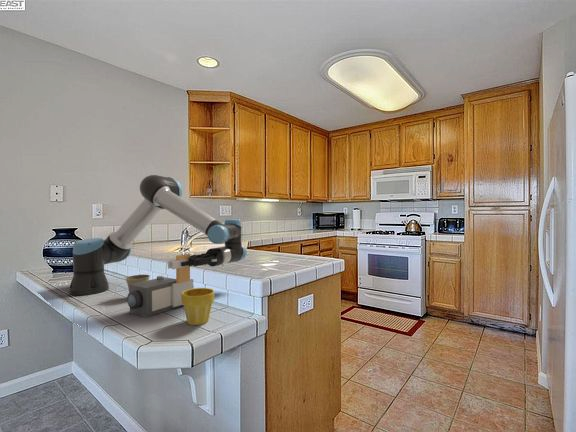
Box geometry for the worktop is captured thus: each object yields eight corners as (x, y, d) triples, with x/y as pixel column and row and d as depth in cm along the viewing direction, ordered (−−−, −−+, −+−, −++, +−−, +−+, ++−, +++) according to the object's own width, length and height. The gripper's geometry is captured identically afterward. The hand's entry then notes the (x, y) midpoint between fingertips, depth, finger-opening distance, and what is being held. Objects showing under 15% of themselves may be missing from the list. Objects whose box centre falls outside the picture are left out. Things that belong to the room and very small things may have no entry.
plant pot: (221, 319, 100) (221, 289, 100) (197, 330, 91) (197, 297, 91) (199, 314, 105) (198, 286, 105) (174, 323, 97) (174, 293, 96)
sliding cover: (191, 300, 118) (191, 253, 118) (194, 301, 117) (193, 253, 117) (172, 306, 110) (171, 256, 110) (174, 307, 110) (174, 256, 109)
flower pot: (122, 297, 127) (122, 276, 127) (146, 292, 133) (146, 273, 133) (128, 302, 120) (128, 280, 120) (153, 297, 126) (153, 276, 126)
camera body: (164, 302, 120) (163, 274, 119) (181, 306, 114) (180, 277, 114) (123, 314, 106) (122, 282, 105) (140, 319, 100) (140, 286, 100)
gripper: (230, 266, 125) (184, 277, 105) (205, 263, 133) (157, 273, 113) (230, 248, 125) (183, 256, 105) (205, 246, 133) (157, 253, 113)
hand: (170, 265), depth 109 cm, fingers closed on sliding cover, 2 cm apart
